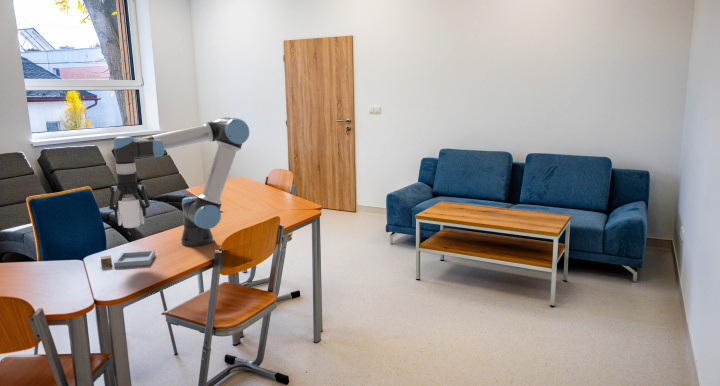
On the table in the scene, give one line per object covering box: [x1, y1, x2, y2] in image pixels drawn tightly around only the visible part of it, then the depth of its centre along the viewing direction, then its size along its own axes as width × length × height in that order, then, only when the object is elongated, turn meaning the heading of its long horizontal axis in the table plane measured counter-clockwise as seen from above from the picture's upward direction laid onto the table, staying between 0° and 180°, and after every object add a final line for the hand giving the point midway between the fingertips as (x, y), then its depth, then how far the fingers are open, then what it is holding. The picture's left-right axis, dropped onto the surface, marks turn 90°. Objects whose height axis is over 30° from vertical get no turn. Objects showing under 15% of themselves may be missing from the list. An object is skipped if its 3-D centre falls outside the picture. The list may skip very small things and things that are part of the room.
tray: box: [113, 249, 156, 269], centre depth 220 cm, size 14×14×2 cm
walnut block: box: [100, 255, 113, 269], centre depth 215 cm, size 4×4×4 cm
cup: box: [117, 196, 141, 229], centre depth 216 cm, size 9×9×12 cm
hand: (131, 224), depth 217 cm, fingers closed on cup, 9 cm apart
